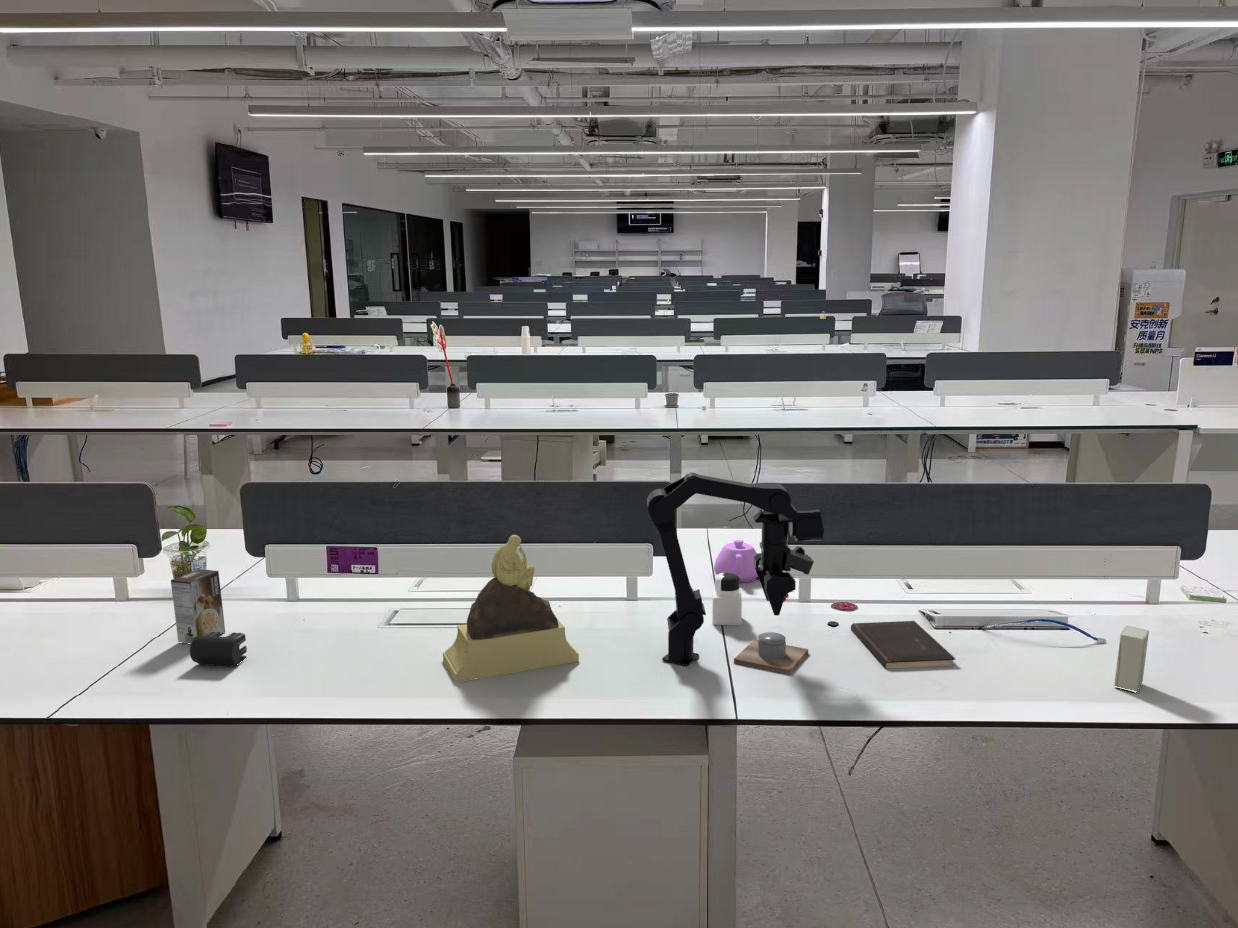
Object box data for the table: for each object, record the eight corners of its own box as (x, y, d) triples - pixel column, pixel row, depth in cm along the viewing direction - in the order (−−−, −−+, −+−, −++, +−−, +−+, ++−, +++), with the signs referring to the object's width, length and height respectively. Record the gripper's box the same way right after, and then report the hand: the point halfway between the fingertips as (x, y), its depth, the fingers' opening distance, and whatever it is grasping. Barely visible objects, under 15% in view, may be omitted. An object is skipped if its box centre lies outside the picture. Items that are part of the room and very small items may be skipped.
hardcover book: (913, 629, 227) (914, 620, 227) (954, 668, 205) (955, 658, 204) (850, 632, 226) (850, 623, 226) (884, 671, 204) (885, 661, 203)
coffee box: (205, 629, 230) (198, 567, 227) (226, 632, 228) (220, 570, 225) (177, 643, 221) (169, 579, 218) (198, 646, 219) (191, 582, 216)
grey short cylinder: (787, 659, 207) (787, 642, 206) (760, 659, 207) (760, 642, 206) (782, 648, 213) (782, 631, 212) (756, 648, 212) (756, 632, 212)
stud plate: (789, 674, 201) (790, 659, 200) (733, 662, 207) (734, 648, 207) (808, 653, 212) (808, 638, 211) (754, 642, 218) (755, 628, 218)
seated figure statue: (560, 641, 221) (557, 520, 215) (578, 661, 209) (576, 533, 203) (443, 660, 210) (436, 533, 204) (455, 683, 199) (449, 549, 193)
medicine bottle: (740, 615, 236) (741, 570, 234) (741, 625, 229) (742, 579, 227) (712, 614, 237) (712, 570, 234) (712, 625, 230) (712, 579, 227)
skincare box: (1120, 678, 198) (1126, 624, 195) (1143, 684, 195) (1149, 629, 192) (1113, 688, 193) (1119, 633, 190) (1137, 694, 190) (1143, 638, 188)
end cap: (191, 669, 207) (187, 640, 205) (208, 656, 214) (205, 628, 212) (233, 671, 206) (230, 642, 204) (249, 658, 212) (246, 630, 211)
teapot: (760, 565, 277) (761, 530, 275) (763, 587, 258) (764, 550, 255) (714, 564, 279) (714, 529, 276) (713, 585, 259) (714, 549, 257)
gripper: (820, 552, 195) (818, 622, 198) (802, 528, 213) (800, 593, 217) (767, 553, 195) (766, 623, 198) (753, 529, 213) (752, 594, 216)
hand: (772, 607), depth 207 cm, fingers open, 9 cm apart
